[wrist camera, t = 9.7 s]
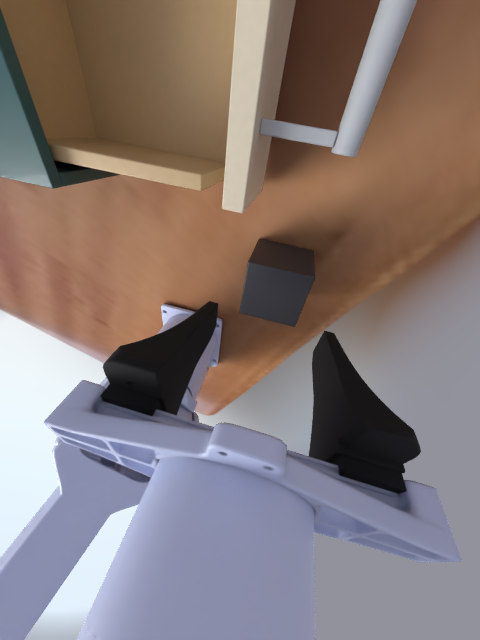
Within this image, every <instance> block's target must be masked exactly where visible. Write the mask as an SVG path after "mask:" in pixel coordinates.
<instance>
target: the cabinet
mask: <svg viewBox="0 0 480 640" xmlns="http://www.w3.org/2000/svg"><path fill="white" fill-rule="evenodd" d="M116 175H121V174H117V173H112V172H107V171H102V170H98V169H93V168H88V167H83V166H79V165H74V164H69V163H64V162H60V161H55V160H53V157H52V154H51V151H50V148H49V145H48V143H47V140H46V137H45V134H44V131H43V128H42V125H41V123H40V120H39V117H38V114H37V111H36V108H35V105H34V102H33V100H32V97H31V94H30V91H29V88H28V85H27V82H26V80H25V77H24V74H23V71H22V68H21V65H20V62H19V59H18V57H17V54H16V51H15V48H14V45H13V42H12V39H11V36H10V34H9V31H8V28H7V25H6V22H5V19H4V16H3V14H2V11H1V8H0V177H4V178H8V179H13V180H17V181H22V182H26V183H31V184H35V185H40V186H44V187H49V188H53V189H54V188H58V187H62V186H68V185H72V184H77V183H82V182H87V181H92V180H97V179H102V178H106V177H111V176H116Z"/></svg>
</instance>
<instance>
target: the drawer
mask: <svg viewBox="0 0 480 640" xmlns="http://www.w3.org/2000/svg"><path fill="white" fill-rule="evenodd" d="M295 2H296V0H0V8H1V11H2V14H3V16H4V19H5V22H6V25H7V28H8V31H9V34H10V36H11V39H12V42H13V45H14V48H15V51H16V54H17V57H18V59H19V62H20V65H21V68H22V71H23V74H24V77H25V80H26V82H27V85H28V88H29V91H30V94H31V97H32V100H33V102H34V105H35V108H36V111H37V114H38V117H39V120H40V123H41V125H42V128H43V131H44V134H45V137H46V140H47V143H48V145H49V148H50V151H51V154H52V157H53V160H55V161H60V162H64V163H69V164H74V165H79V166H83V167H88V168H93V169H98V170H102V171H107V172H112V173H117V174H122V175H126V176H131V177H136V178H141V179H145V180H150V181H155V182H160V183H164V184H169V185H174V186H179V187H183V188H188V189H193V190H198V191H203V190H204V189H206V188H208V187H210V186H212V185H214V184H216V183H218V182H220V181H222V180H224V188H223V201H222V209H225V210H229V211H234V212H239V213H243V212H244V211H245V210H246V209H247V208H248V206H249V205H250V204H251V203H252V202H253V201H254V199H255V198H256V197H257V196H258V195H259V194H260V192H261V191H262V189H263V184H264V178H265V172H266V167H267V161H268V155H269V150H270V144H271V138H272V137H276V138H282V139H287V140H293V141H298V142H304V143H309V144H315V145H321V146H326V147H333V148H332V153H334V154H338V155H343V156H349V157H356V156H357V154H358V151H359V149H360V146H361V143H362V141H363V138H364V136H365V133H366V131H367V128H368V125H369V123H370V120H371V118H372V115H373V113H374V110H375V108H376V105H377V102H378V100H379V97H380V95H381V92H382V90H383V87H384V84H385V82H386V79H387V77H388V74H389V72H390V69H391V66H392V64H393V61H394V59H395V56H396V54H397V51H398V49H399V46H400V43H401V41H402V38H403V36H404V33H405V31H406V28H407V25H408V23H409V20H410V18H411V15H412V13H413V10H414V8H415V5H416V2H417V0H380V3H379V6H378V9H377V13H376V16H375V19H374V22H373V25H372V28H371V31H370V34H369V37H368V40H367V43H366V46H365V49H364V53H363V56H362V59H361V62H360V65H359V68H358V71H357V74H356V77H355V80H354V83H353V86H352V89H351V93H350V96H349V99H348V102H347V105H346V108H345V111H344V114H343V117H342V120H341V123H340V126H339V129H338V132H337V131H334V130H329V129H323V128H317V127H311V126H306V125H300V124H294V123H288V122H283V121H277V120H275V116H276V110H277V104H278V99H279V93H280V87H281V82H282V76H283V70H284V65H285V59H286V53H287V48H288V42H289V36H290V30H291V25H292V19H293V13H294V8H295Z"/></svg>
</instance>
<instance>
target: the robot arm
mask: <svg viewBox="0 0 480 640" xmlns="http://www.w3.org/2000/svg"><path fill="white" fill-rule="evenodd" d="M161 311H162V318H163V328H162V329H161V330H160V332H159V333H158V334H157V335H155V336H152V337H150V338H147V339H144V340H141V341H138V342H134V343H130V344H127V345H123V346H120V347H119V348H118V349H117V350H116V351H115V352H114V353H113V354H112V355H111V356H110V357H109V359H108V360H107V361H106V362H105V363H104V365H103V369H104V372H105V374H106V376H107V377H106V378H105V379H104V380H103V381H102V383H101V384H100V385H99V384H95V383H92V382H89V381H86V380H82V381H81V382H80V383H79V384H78V385H77V387H75V389H74V390H73V391H72V392H71V393H70V394H69V395H68V396H67V397H66V398H65V399H64V400H63V401H62V403H61V404H60V405H59V406H58V407H57V408H56V409H55V410H54V411H53V412H52V413H51V415H50V416H49V417H48V418H47V419H46V420H45V421H44V423H45V425H46V426H47V427H48V428H49V429H51V430H52V431H53V432H54V433H55V434H56V435H57V436H58V437H57V439H56V443H55V444H56V445H55V446H54V448H53V451H52V454H53V460H54V464H55V468H56V472H57V475H58V480H59V484H60V485H59V486H58V488H57V489H56V490H55V491H54V492H53V493H52V495H51V496H50V497H49V498H48V500H47V501H46V502H45V503H44V505H43V506H42V507H41V508H40V510H39V511H38V512H37V513H36V515H35V516H34V517H33V518H32V520H31V521H30V522H29V523H28V524H27V526H26V527H25V528H24V529H23V531H22V532H21V533H20V535H19V536H18V537H17V538H16V539H15V541H14V542H13V543H12V544H11V546H10V547H9V548H8V549H7V551H6V552H5V553H4V554H3V556H2V557H1V558H0V640H24V639H25V637H26V636H27V634H28V633H29V632H30V630H31V629H32V627H33V626H34V624H35V623H36V621H37V620H38V619H39V617H40V616H41V614H42V613H43V611H44V610H45V608H46V607H47V605H48V604H49V602H50V601H51V599H52V598H53V597H54V595H55V594H56V592H57V591H58V589H59V588H60V586H61V585H62V584H63V582H64V581H65V579H66V578H67V576H68V575H69V574H70V572H71V571H72V569H73V568H74V566H75V565H76V564H77V562H78V561H79V559H80V558H81V556H82V555H83V553H84V552H85V550H86V549H87V547H88V546H89V544H90V543H91V542H92V540H93V539H94V537H95V536H96V535H97V533H98V532H99V530H100V529H101V527H102V526H103V524H104V523H105V522H106V520H107V518H108V517H109V516H110V515H111V514H113V513H115V512H117V511H120V510H123V509H126V508H129V507H132V506H135V505H138V504H139V505H138V507H137V510H136V512H135V514H134V516H133V518H132V520H131V523H130V525H129V527H128V529H127V531H126V534H125V536H124V538H123V540H122V542H121V544H120V547H119V549H118V551H117V553H116V555H115V558H114V560H113V562H112V564H111V566H110V568H109V571H108V573H107V575H106V577H105V579H104V582H103V584H102V586H101V588H100V590H99V592H98V594H97V597H96V599H95V601H94V603H93V605H92V608H91V610H90V612H89V614H88V616H87V618H86V620H85V623H84V625H83V627H82V629H81V631H80V633H79V636H78V638H77V640H316V639H315V564H314V532H315V533H318V534H322V535H326V536H329V537H334V538H337V539H341V540H344V541H348V542H352V543H356V544H359V545H363V546H367V547H371V548H374V549H378V550H381V551H384V552H388V553H391V554H394V555H398V556H401V557H404V558H407V559H410V560H413V561H416V562H419V563H426V562H460V561H461V558H460V555H459V552H458V549H457V546H456V544H455V541H454V538H453V535H452V532H451V530H450V527H449V524H448V521H447V519H446V516H445V513H444V511H443V507H442V505H441V502H440V499H439V496H438V494H437V491H436V489H435V488H434V487H431V486H428V485H424V484H421V483H418V482H415V481H410V480H404V479H403V476H402V473H405V469H404V465H403V464H404V463H406V462H408V461H409V460H412V459H414V458H415V457H417V456H418V455H419V454H420V452H421V450H420V446H419V443H418V440H417V437H416V435H415V433H414V430H413V429H412V428H411V427H409V426H408V425H407V424H406V423H405V422H403V421H402V420H401V419H400V418H399V417H398V416H397V415H395V414H394V413H393V412H392V411H391V410H390V409H389V408H388V407H387V406H386V405H385V404H384V403H383V402H382V401H381V400H380V399H379V398H378V397H377V396H376V395H375V394H374V392H373V391H372V390H371V389H370V388H369V387H368V386H367V384H366V383H365V382H364V380H363V379H362V378H361V377H360V375H359V374H358V373H357V371H356V370H355V368H354V367H353V365H352V364H351V362H350V361H349V359H348V357H347V356H346V354H345V352H344V351H343V349H342V347H341V345H340V343H339V342H338V340H337V338H336V336H335V334H334V333H331V332H327V331H324V333H323V334H322V337H321V338H320V340H319V342H318V344H317V346H316V347H315V349H314V351H313V361H312V372H313V391H314V407H313V421H312V434H311V443H310V451H309V456H305V455H302V454H299V453H296V452H292V451H289V450H287V445H286V444H285V443H284V442H282V440H280V439H278V438H276V437H274V436H270V435H267V434H264V433H261V432H258V431H254V430H251V429H247V428H244V427H241V426H238V425H234V424H230V423H219V424H217V425H216V426H215V427H212V426H209V425H205V424H202V423H199V419H198V415H197V414H196V413H195V412H194V409H195V407H196V404H197V401H195V399H196V397H197V395H198V393H199V391H200V388H201V386H202V384H203V381H204V379H205V377H206V374H207V372H208V370H209V367H210V366H213V367H216V366H217V365H218V359H219V350H220V340H221V331H222V320H221V319H220V318H217V312H218V303H214V302H211V301H209V302H208V303H206V304H205V305H204V306H203V307H202V308H200V309H199V310H198V311H196V312H194V311H190V310H187V309H183V308H179V307H175V306H171V305H167V304H163V305H162V306H161ZM217 324H218V325H217Z"/></svg>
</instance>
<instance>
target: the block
mask: <svg viewBox="0 0 480 640" xmlns="http://www.w3.org/2000/svg"><path fill="white" fill-rule="evenodd" d="M314 279H315V268H314V251H313V250H308V249H304V248H299V247H295V246H291V245H286V244H282V243H277V242H273V241H268V240H264V239H259V240H258V243H257V245H256V247H255V249H254V251H253V253H252V255H251V257H250V259H249V261H248V266H247V272H246V278H245V283H244V289H243V295H242V301H241V307H240V313H242V314H246V315H250V316H254V317H258V318H262V319H266V320H269V321H273V322H277V323H281V324H285V325H289V326H293V327H295V325H296V323H297V320H298V318H299V316H300V313H301V311H302V308H303V306H304V303H305V301H306V299H307V296H308V294H309V291H310V289H311V286H312V284H313V281H314Z"/></svg>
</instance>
